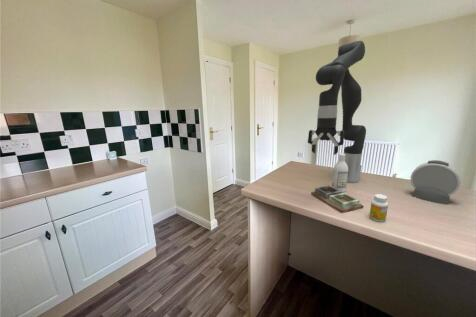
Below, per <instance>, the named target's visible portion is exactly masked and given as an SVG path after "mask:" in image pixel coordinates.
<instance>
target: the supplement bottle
mask: <svg viewBox="0 0 476 317" xmlns="http://www.w3.org/2000/svg"><path fill="white" fill-rule="evenodd" d="M387 200H388V197H387V195H385V194H380V193H377V194H374V199H371V203H370V209H369V210H370V211H369V218H370V219H371V220H373V221H375V222H381V223H382V222H383V223H384V222H385V221H386V220H387V216H388V215H387V214H388V210H389V203H388V202H387Z"/></svg>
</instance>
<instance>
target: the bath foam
mask: <svg viewBox="0 0 476 317" xmlns="http://www.w3.org/2000/svg"><path fill="white" fill-rule="evenodd" d="M332 170H333V171H332V179H331V180H332V182H331V187H333V188H335V189H337V190H339V191H341V193H345V192H346V191H347V186H348V185H347V184H348V182H347V178H348V166H347V164H346V162H345V154H344V153H339V154H338V161H337V162H336V163H335V164H334V166H333V169H332Z"/></svg>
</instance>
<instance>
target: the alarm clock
mask: <svg viewBox="0 0 476 317" xmlns="http://www.w3.org/2000/svg"><path fill="white" fill-rule="evenodd" d="M461 180H462V177H461V175H460V173H459V172H458V170H457V169H456V168H454V166H452V165H450V163H449V162H447V161H443V160H433V159H432V160H428V161H427V162H424V163H422V164H419V165H418V166H417V167H415V169H414V170H413V171H412V172H411V175H410V184H411V186H412V187H413V189H414V190H413V191H412V194H411V197H413V198H415V197H416V199H418V198H419V199H420V200H422V201H425V200H426V201H427V202H429V201H430V202H431V203H435V204H441V205H445V206H446V205H450V199H451V198H450V197H451V196H452V195H454V194H456V193H457V192H458V191H459V189H460V188H461Z"/></svg>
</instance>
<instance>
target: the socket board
mask: <svg viewBox="0 0 476 317" xmlns="http://www.w3.org/2000/svg"><path fill="white" fill-rule="evenodd" d="M310 195H311V196H313V197H314V198H316V199H318V200H319V201H322V202H323V203H324V204H326V205H328V206H329V207H330V208H332V209H334V210H336V211H338V212H339V213H341V214H344V213H348V212H351V211H352V212H353V211H356V210H359V209H360V210H361V209H364V205H363V204H361V203H360V201H361V200H360V199H357V198H356V197H354V196H351V195H349V194H347V193H345V192H341V191H339V190H337V189H335V188H333V187H332V185H324V186H317V187H315V188H314V191H311V193H310Z"/></svg>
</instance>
